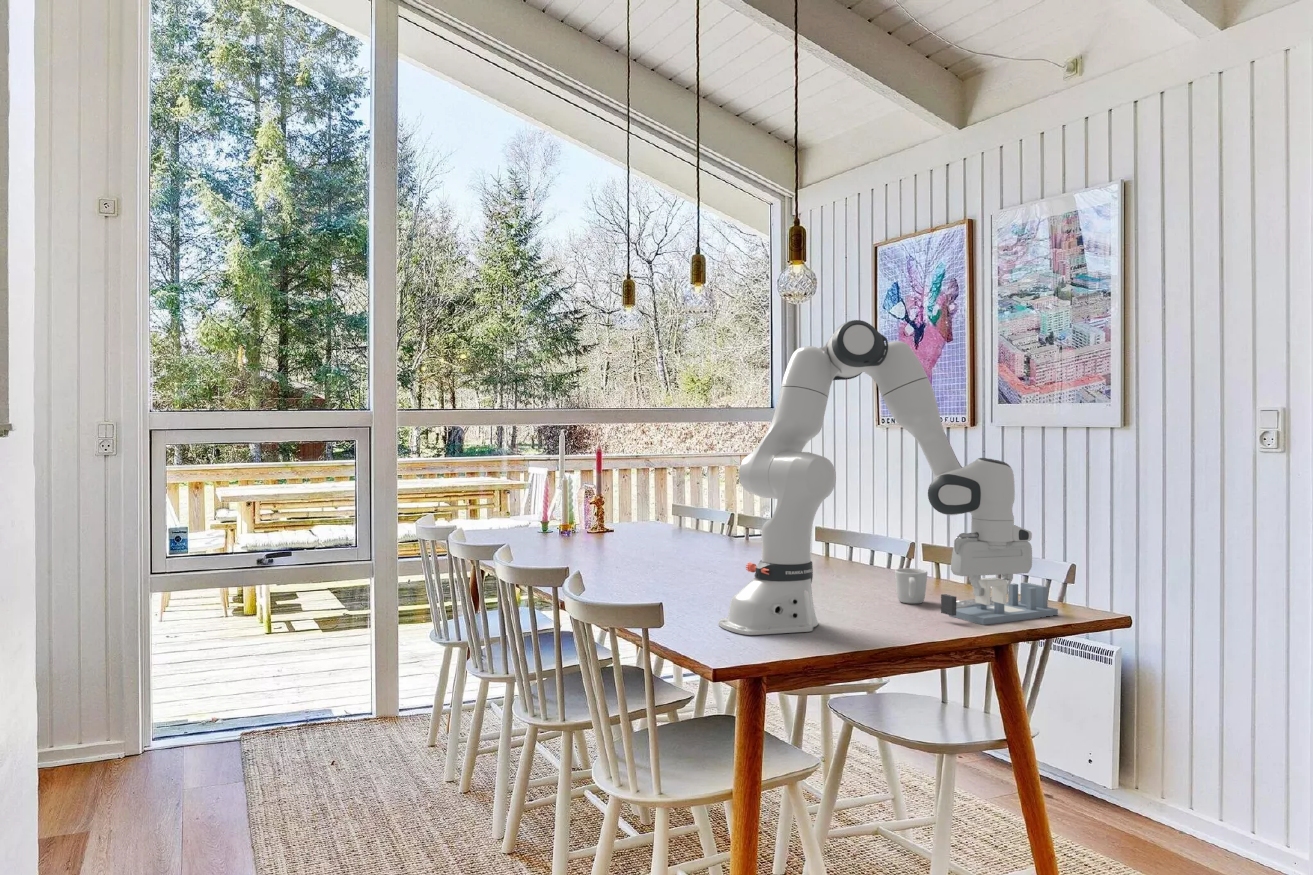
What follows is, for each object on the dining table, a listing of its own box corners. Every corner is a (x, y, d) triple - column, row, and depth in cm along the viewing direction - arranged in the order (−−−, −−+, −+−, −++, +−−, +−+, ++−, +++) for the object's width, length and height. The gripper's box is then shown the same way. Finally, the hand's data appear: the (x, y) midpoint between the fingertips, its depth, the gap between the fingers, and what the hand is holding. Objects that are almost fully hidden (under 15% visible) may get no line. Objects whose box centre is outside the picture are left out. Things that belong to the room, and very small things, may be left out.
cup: (929, 608, 231) (929, 575, 230) (895, 607, 232) (896, 574, 232) (926, 599, 241) (926, 568, 241) (893, 598, 243) (894, 567, 243)
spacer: (1006, 603, 208) (1007, 580, 208) (987, 605, 205) (987, 581, 205) (994, 600, 211) (995, 577, 211) (975, 602, 209) (975, 578, 209)
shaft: (952, 615, 213) (952, 597, 213) (941, 612, 216) (941, 594, 216) (997, 610, 219) (997, 592, 219) (986, 607, 222) (986, 589, 222)
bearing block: (983, 625, 212) (983, 596, 212) (948, 615, 222) (948, 588, 222) (1057, 615, 222) (1057, 587, 222) (1021, 607, 232) (1021, 580, 232)
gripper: (965, 534, 201) (963, 599, 201) (1037, 532, 209) (1036, 595, 209) (945, 531, 207) (943, 594, 207) (1016, 529, 215) (1014, 590, 215)
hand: (990, 594), depth 208 cm, fingers closed on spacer, 5 cm apart
